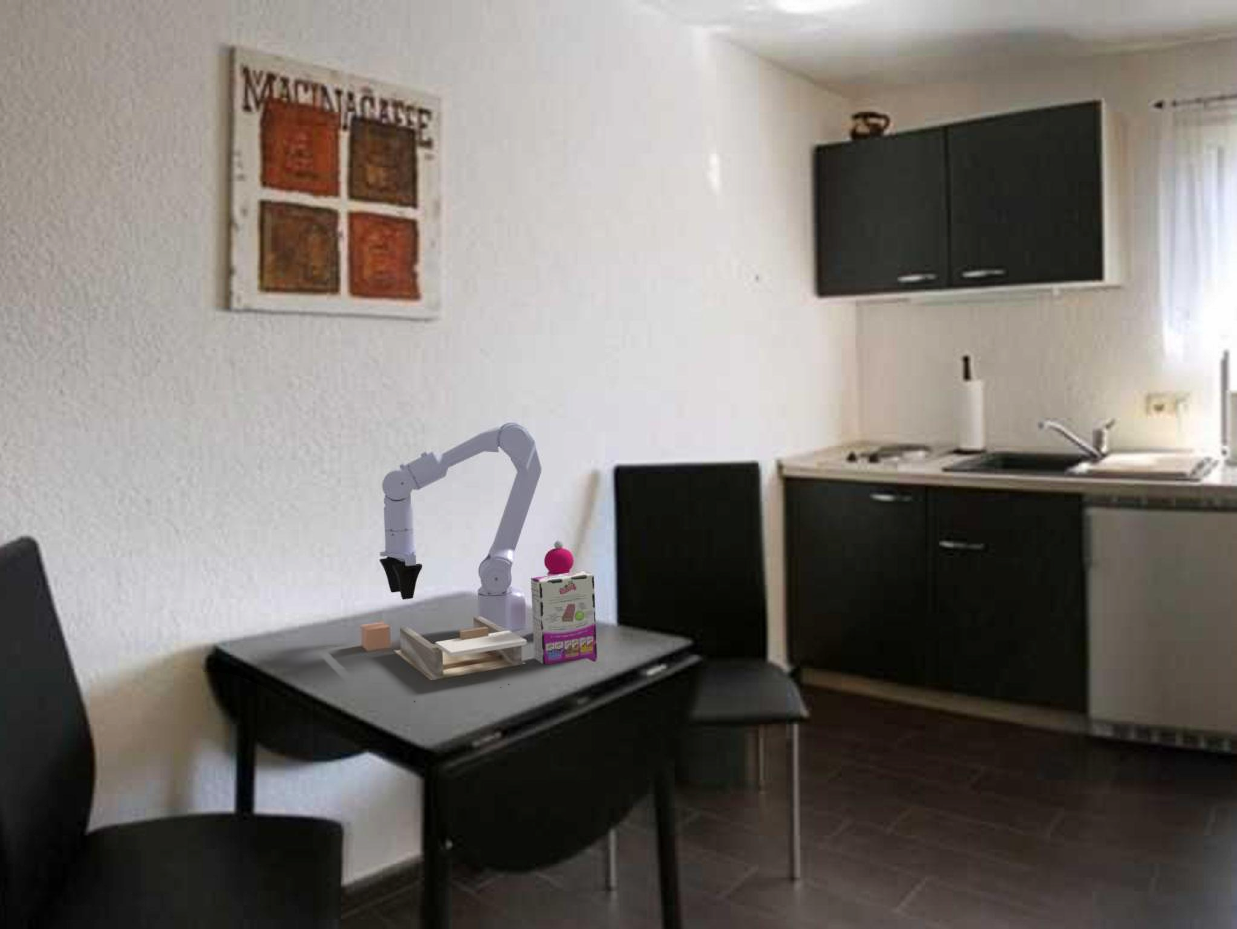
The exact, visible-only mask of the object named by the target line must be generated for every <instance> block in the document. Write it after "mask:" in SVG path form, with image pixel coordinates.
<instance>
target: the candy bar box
mask: <svg viewBox="0 0 1237 929" xmlns="http://www.w3.org/2000/svg"><path fill="white" fill-rule="evenodd" d="M571 572H572V571H571ZM530 587H531V588H530V591H531V611H532V613H531V614H532V634H533V638H532V639H533V653H534V656H533V657H534V660H536V661H537V662H539V663H541V664H542V665H548V664H554V663H561V662H565V661H566V662H567V661H571V660H578V659H582V658H583V659H585V658H586V659H588V660H589V661H596V660H598V647H597V646H598V645H597V643H598V642H597V625H596V624H597V623H596V596H595V575H594V574H593V573H590V572H588V571H585V570H580V571H575V572H574V571H573V572H572V573H564V574H557V575H550V576H548V575H544V576H536V577H531V578H530Z"/></svg>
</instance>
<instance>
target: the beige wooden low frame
mask: <svg viewBox="0 0 1237 929" xmlns="http://www.w3.org/2000/svg"><path fill="white" fill-rule="evenodd" d="M481 627H487V628H488V633H489V634H490V633H496V632H503V631H507V630H505V629H503V628H502V627H500V626H498V625H496V624H494V623H492V622H491V621H489V620H487V619H485V618H483V617H481V616H479V615H478V616H474V617H473V629H474V628H481ZM399 637H400V638H399V640H400V649H396V650H394V652H395V653H396V654H397V655H398V656H400V657H401V658H402V659H404V661H406V662H407V663H408V664H410V665H411V666H412V667H413V668H415V669H417V671H418V672H420V673H421V674H422V675H424V676H425V677H426V678H428V680H430V681H435V680H441V679H447V678H451V677H457V676H463V675H469V674H474V673H480V672H486V671H490V670H496V669H497V670H498V669H503V668H508V667H509V668H510V667H513V666H519V665H524V664H525V665H526V662H524V661H523V656H522V655H523V652H522V651H523V650H522V647H523V645H522V646H516V647H510V648H504V649H498V650H492V651H485V652H479V653H473V654H467V655H461V656H455V657H450V656H449V655H448V654H446V653H445V652H443V651H442V650H440V649H439V648H437V647H436V643H432V642H430V641H429V640H427V639H426V638H424V637H423V636H422V635H420V634H419V633H418V632H416V631H414V630H413V629H411V628H410V627H409V626H405V627H399Z"/></svg>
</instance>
